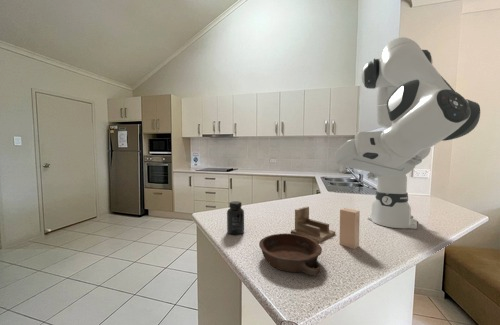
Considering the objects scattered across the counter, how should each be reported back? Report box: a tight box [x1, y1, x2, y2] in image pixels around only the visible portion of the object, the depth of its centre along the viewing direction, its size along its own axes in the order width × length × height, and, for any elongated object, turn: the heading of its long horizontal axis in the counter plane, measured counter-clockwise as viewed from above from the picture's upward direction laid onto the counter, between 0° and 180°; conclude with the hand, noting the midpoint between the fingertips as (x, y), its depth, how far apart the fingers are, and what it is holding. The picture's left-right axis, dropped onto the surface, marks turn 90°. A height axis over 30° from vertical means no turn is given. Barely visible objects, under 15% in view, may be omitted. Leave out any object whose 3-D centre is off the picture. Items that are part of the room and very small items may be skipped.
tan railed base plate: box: [290, 205, 336, 244], centre depth 82 cm, size 12×12×9 cm
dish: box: [258, 232, 323, 277], centre depth 61 cm, size 18×22×5 cm
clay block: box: [339, 207, 361, 250], centre depth 71 cm, size 4×5×12 cm
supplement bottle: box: [226, 200, 245, 236], centre depth 83 cm, size 7×7×12 cm
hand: (355, 173), depth 64 cm, fingers open, 8 cm apart
